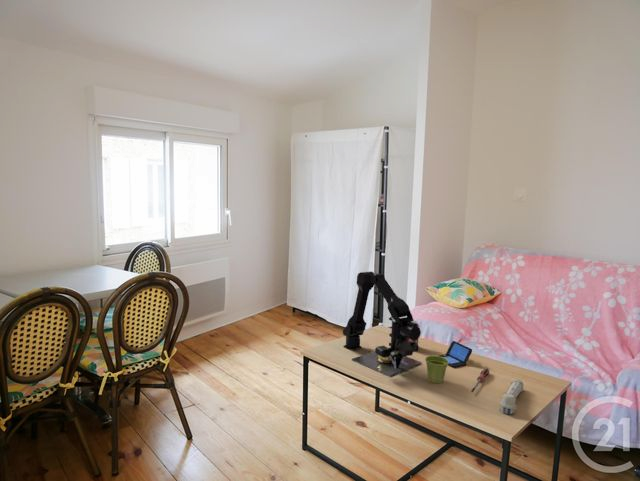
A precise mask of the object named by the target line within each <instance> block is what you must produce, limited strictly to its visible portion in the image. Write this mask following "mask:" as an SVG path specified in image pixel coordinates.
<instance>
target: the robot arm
mask: <svg viewBox="0 0 640 481" xmlns="http://www.w3.org/2000/svg"><path fill="white" fill-rule="evenodd" d="M356 285H357V287H358V291H357V296H356V300H355V304H354V309H353V314H352V315H351V317H350V318H349V319H348V321H347V324H346V326H345V327H344V328H343V330H342V335H343V336H345V344H344V345H343V347H344V348H346V349H348V350H351V351H355V350H358V349H361V348H362V346H361V339H360V338H361V336H364V333H365V332H364V331H366V328H367V327H366V326H367V322H366V321H365V319H364V316H365V312H366V307H367V303H368V298H369V294H370V291H371V290H372V289H373V288H374V287H375V286H376V288H377V290H378V291H379V292H380V294H381V295H382V297H383V298H384V300H385V302H386V304H387V310H388V313H389V314H390V317H388V320H389V321H391V332H390V333H389V337H390V342H389V343H388V346H389V347H387V346H385V345H380V346H376V347H375V349H374V351H375V353H376V354H378V355H379V356H381V357H389V356H390V357H391V359H392V362H393V364H394V367H395V369H398V367H399V365H400V363H401V360H402V358H403V357H404V356H406V357H409V356H413V354H414V353H418V352H419V351H420V346H419V343H418V344H417V343H416V342H412V341H409V342H408V341H407V338H409V339H411V340H414V341H415V340H417V339H418V340H419V338H420V336H421V333H422V331H421V329H420V326H419V327H417V323H413V322H411V321H415V320H414V318H413V317H414V316H413V314H412V312H411V310H410V309H411V308H410V307H409V305H408V303H406V302H405V300H404V299H402V298H401V297H399V296H398V295H397V294H396V293H395V291H394V289H393V288H392V287H391V285H390V284H389V282H388V280H386V278H385V275H384V273H383V274H382V273H374V272H373V271H361V272H359V273H358V274H357V275H356Z"/></svg>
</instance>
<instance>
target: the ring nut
mask: <svg viewBox="0 0 640 481" xmlns="http://www.w3.org/2000/svg"><path fill="white" fill-rule="evenodd" d="M378 361H380V362H383V363H392V364H393V362H392V359H391V357H390V356H389V357H381V356H379V355H378ZM409 366H410V364H409V363H407V362H404V361H402V360H401V363H400V365H399V367H401V368H403V369H405V371H409V370H410V369H409Z"/></svg>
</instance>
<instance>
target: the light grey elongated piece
mask: <svg viewBox="0 0 640 481" xmlns="http://www.w3.org/2000/svg"><path fill="white" fill-rule="evenodd" d="M523 391H524V382H523V381H522V380H519V379H515V380H513V381H512V382H511V383H510V387H509V389H508V390H507V393H504V395H502V396H503V397H502V400H500V401H499V405H500V407H499V410H500V411H501V413H504V414H507V415H512V414H513V415H514V414H515V412H516V408H517V404H516V403H515V399H516V398H517V397H518V395H520V393H521V392H523Z"/></svg>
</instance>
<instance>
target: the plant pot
mask: <svg viewBox="0 0 640 481" xmlns="http://www.w3.org/2000/svg"><path fill="white" fill-rule="evenodd" d="M424 360H425V364H426V371H427V380H428V381H429V382H431V383H433V384H441V383H443V382H444V379H445V374H446V371H447V367H448V364H449V361H448V360H447V359H446V358H443V357H440V355H428V356H426V357H425V358H424Z"/></svg>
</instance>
